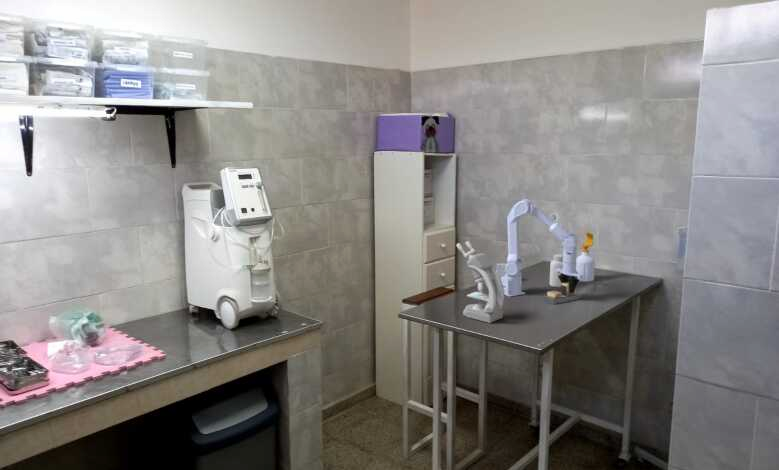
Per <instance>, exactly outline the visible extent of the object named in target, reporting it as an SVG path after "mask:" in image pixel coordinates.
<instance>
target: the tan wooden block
mask: <svg viewBox="0 0 779 470" xmlns="http://www.w3.org/2000/svg"><path fill="white" fill-rule="evenodd" d="M560 288H561V289H560V291H561V292H560V293H562V297H566V296H572V295H575V292H576V290H577V289H576V288H575V291H574V293H570V292H569V282H566V283H562V285H561V287H560ZM576 293H577V292H576Z"/></svg>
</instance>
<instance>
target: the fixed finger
mask: <svg viewBox="0 0 779 470" xmlns="http://www.w3.org/2000/svg"><path fill="white" fill-rule="evenodd" d="M546 293H547V294H546V295H547V296H548V297H551V298H554V299H556V298H561V297H562V293H561V292H559V291H556V290H551V291H547V292H546Z"/></svg>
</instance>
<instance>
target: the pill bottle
mask: <svg viewBox="0 0 779 470" xmlns="http://www.w3.org/2000/svg"><path fill="white" fill-rule="evenodd" d="M557 268H561V269H563V254H558V253H557V254H554V255H553V260H551V262H550V267H549V285H550V286H551V287H552V288H553V287H554V288H561V285H562V284H561V281H560V279H559V277H558V275H560V273H556V269H557Z"/></svg>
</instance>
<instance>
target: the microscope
mask: <svg viewBox="0 0 779 470" xmlns="http://www.w3.org/2000/svg"><path fill="white" fill-rule="evenodd" d="M455 246H456V247H457V249H458V250H459V251H460V252H461V253H462V254H463V257H464V258H465V259H466V258H468V260H467V262H466V264H467V267H468V268H470V270H471V273H472V275H473V279H474V281H475V282H476V283H477V291H474V292H471V293H469V294H466V297H467V298H468V297H469V298H471V299H474V300H479V301H484V303H485V304H484V303H483V302H475V303H471V304H467V305H466V306H464V307H465V308H464V309H463V310H462V311H463V312H462V314H463V316H464V317H466V318H468V319H473V320H477V321H481V322H485V323H487V324H491V323H493V322H496V321H497V320H501V319H502V318H504V311H503V309H502V307H503V305H504V300H505V295H504V288H503V284H502V281H501V279H500V277H499V275H498V273H497V272H496V269H495V268H494V267H493V266H494V265H493V263H492V261H491V260H490V258H488V256H487V254H485V253H478V251H476V249H475V248H473V245H472V243H471V242H470V241H469V240H467V241H466V242H465V246H466V247H467V248H468V249H469V251H467V252H466V251H465V250H464V248H463V247H464V246H462V244H461V243H459V242H458V243H456V245H455ZM488 272H489V274H491V276H492V278H493V280H492V278H491V277H490V276H489V274H488ZM493 281H494V283H495V285H496V289H495V286H494V283H493ZM484 285H485V287H486V288H487V289H488V293H487V294H486V293H483V292H484ZM496 293H497V294H496Z"/></svg>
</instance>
